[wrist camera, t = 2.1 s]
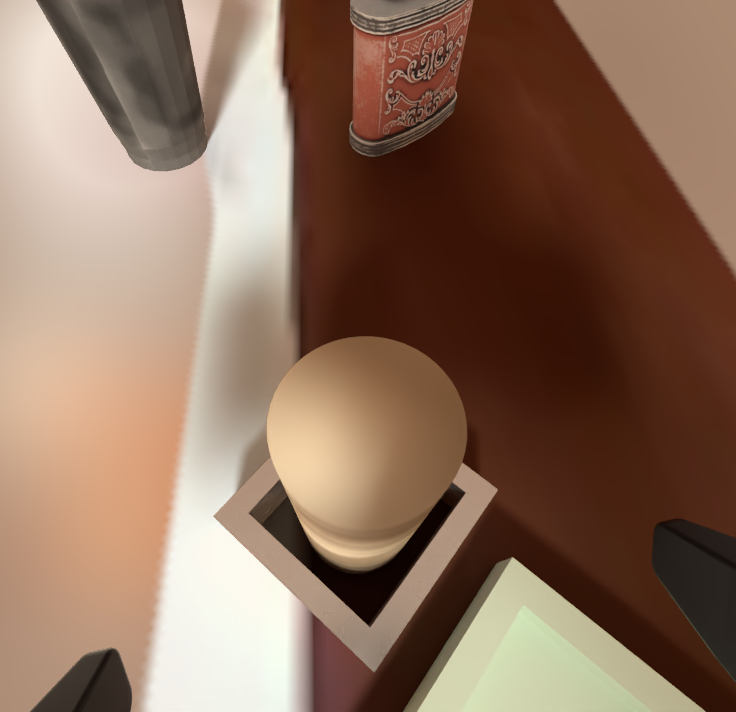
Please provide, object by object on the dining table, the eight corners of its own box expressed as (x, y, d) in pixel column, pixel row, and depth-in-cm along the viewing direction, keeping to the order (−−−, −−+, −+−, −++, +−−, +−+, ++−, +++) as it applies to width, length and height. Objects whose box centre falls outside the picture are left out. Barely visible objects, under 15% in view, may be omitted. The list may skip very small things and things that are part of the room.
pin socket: (370, 665, 16) (374, 672, 14) (229, 528, 18) (213, 516, 16) (480, 505, 19) (498, 489, 17) (347, 401, 21) (347, 375, 18)
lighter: (428, 85, 32) (459, -117, 23) (466, 110, 31) (513, -93, 22) (336, 136, 29) (332, -73, 20) (375, 165, 28) (388, -43, 19)
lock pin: (364, 599, 17) (384, 575, 8) (283, 524, 18) (223, 433, 9) (430, 510, 19) (505, 410, 10) (351, 445, 20) (355, 305, 11)
